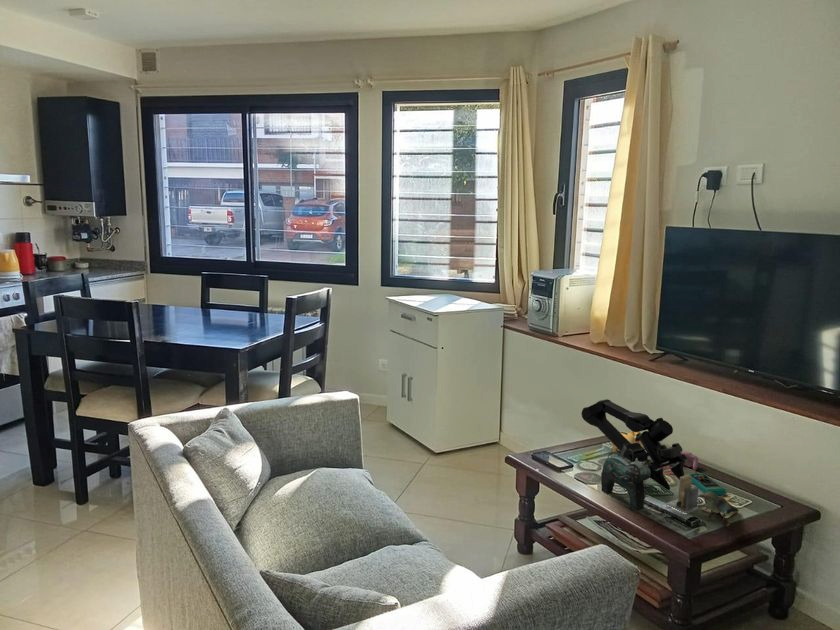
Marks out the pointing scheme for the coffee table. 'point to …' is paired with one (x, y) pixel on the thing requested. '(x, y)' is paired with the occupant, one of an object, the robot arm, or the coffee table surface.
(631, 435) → the dog
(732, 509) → the bird figurine
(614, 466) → the green animal figurine
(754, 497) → the coffee table surface
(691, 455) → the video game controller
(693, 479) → the digital multimeter
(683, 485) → the light brown wooden block
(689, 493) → the gauge base
